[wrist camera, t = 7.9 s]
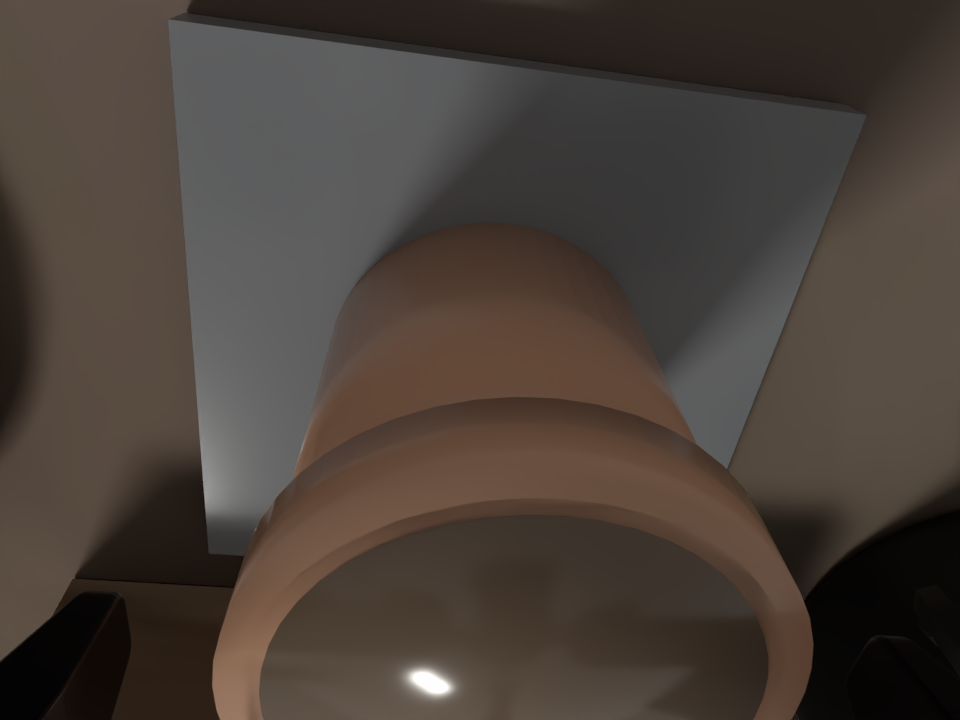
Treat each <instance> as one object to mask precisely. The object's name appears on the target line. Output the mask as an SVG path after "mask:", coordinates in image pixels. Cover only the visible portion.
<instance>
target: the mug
mask: <svg viewBox="0 0 960 720" xmlns="http://www.w3.org/2000/svg"><path fill="white" fill-rule="evenodd" d="M805 606H806V609H807V612H808V614H809V617H810V623H811V630H812V637H813V657H812V669H811V673H810V676H809V680H808V683H807V687H806V691H805V694H804V696H803V698H802V700H801V702H800V704H799V706H798V708H797V710H796V713H797V715H798V717H799V720H854V718H853V714H852V711H851V708H850V704H849V701H848V697H847V692H846V679H847V675H848V673H849V671H850V670H851V668H852V666H853V665H854V663H855V662H856V660H857V658H858V657H859V655H860V654H861V652H862V650H863V649H864V647H865V646H866V644H867V642H868V641H869V640H870V639H871V638H872V637H874V636H877V635H884V636H900V637H905V638H908V639H910V640H912V641H913V642H915V643H916V644H917V645H919V646H920V647H921V648H922V649H923V650H925V651H926V652H927V653H928V654H929V655H931V656H932V657H933V658H934V659H936V660H937V661H938V662H939V663H940V664H942V665H943V666H944V667H945V668H946V669H948V670H949V671H950V672H951V673H952V674H954V675H955V676H956V677H957V678H959V679H960V512H957V513H953V514H948V515H945V516H942V517H939V518H936V519H933V520H930V521H927V522H924V523H921V524H918V525H916V526H913V527H911V528H909V529H906V530H904V531H902V532H900V533H897V534H895V535H893V536H891V537H888V538H887V539H885V540H883V541H881V542H879V543H878V544H876V545H874V546H872V547H871V548H869V549H867V550H865V551H864V552H862V553H861V554H859V555H858V556H856V557H855V558H853V559H852V560H851V561H849V562H848V563H846V564H845V565H844V566H842V567H841V568H839V569H838V570H837V571H836V572H835V573H834V574H833V575H832V576H830V577H829V578H828V579H827V580H826V581H825V582H824V583H823V584H822V585H821V586H820V587H819V588H818V589H817V590H816V591H815V592H814V593H813V595H812V596H811V597H810V598H809V599H808V600H807V602H806V603H805Z"/></svg>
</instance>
